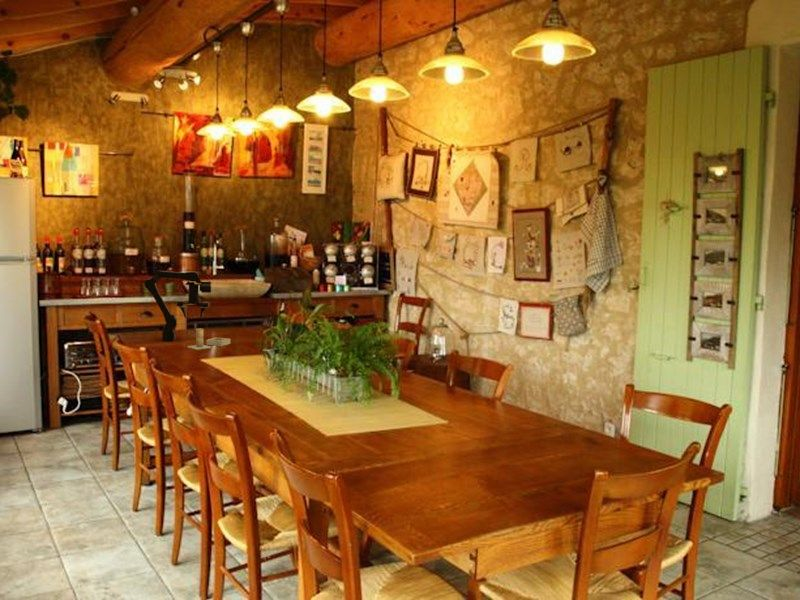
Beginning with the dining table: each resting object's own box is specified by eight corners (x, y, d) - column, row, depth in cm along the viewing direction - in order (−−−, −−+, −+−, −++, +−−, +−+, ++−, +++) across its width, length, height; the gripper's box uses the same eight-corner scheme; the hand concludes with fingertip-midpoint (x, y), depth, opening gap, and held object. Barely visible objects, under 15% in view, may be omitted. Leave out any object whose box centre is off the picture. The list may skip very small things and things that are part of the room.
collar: (206, 344, 453) (206, 339, 453) (215, 342, 463) (215, 337, 463) (221, 346, 450) (221, 341, 450) (230, 343, 460) (230, 338, 460)
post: (194, 346, 443) (194, 329, 442) (200, 345, 446) (201, 328, 445) (198, 347, 440) (198, 329, 439) (204, 346, 443) (204, 329, 442)
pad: (187, 347, 443) (187, 346, 443) (202, 345, 450) (202, 344, 450) (196, 349, 436) (196, 348, 436) (212, 348, 443) (212, 347, 443)
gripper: (212, 291, 474) (212, 317, 476) (181, 290, 474) (181, 316, 476) (207, 293, 463) (207, 319, 465) (176, 292, 463) (176, 318, 465)
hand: (193, 318), depth 468 cm, fingers open, 9 cm apart
